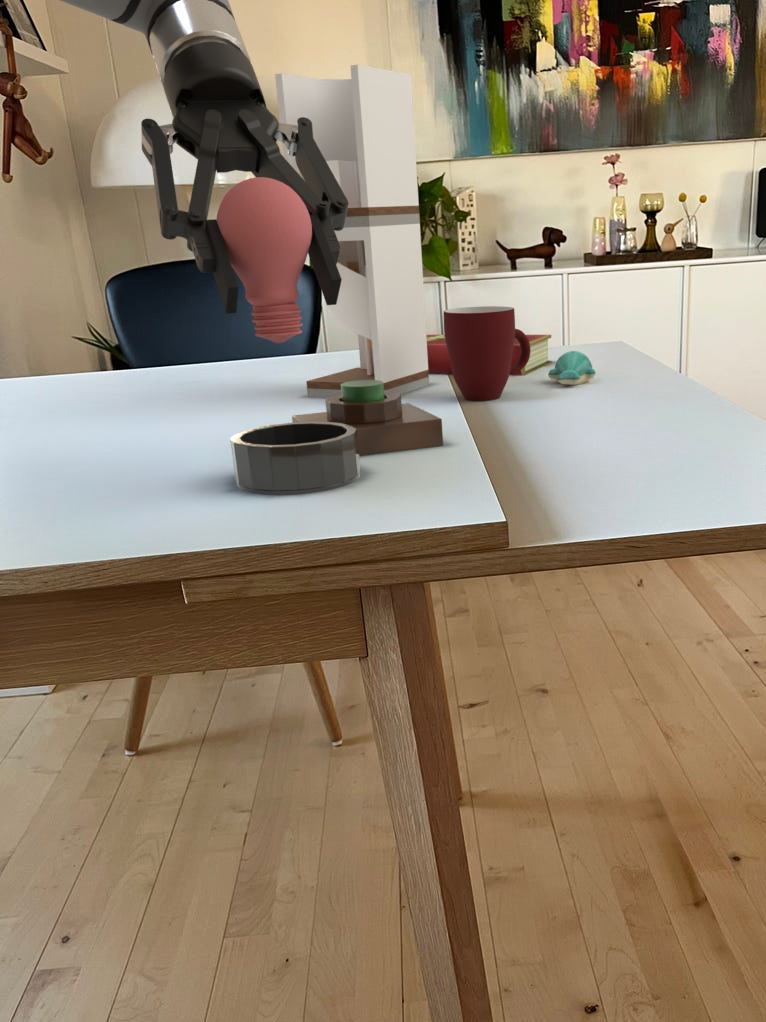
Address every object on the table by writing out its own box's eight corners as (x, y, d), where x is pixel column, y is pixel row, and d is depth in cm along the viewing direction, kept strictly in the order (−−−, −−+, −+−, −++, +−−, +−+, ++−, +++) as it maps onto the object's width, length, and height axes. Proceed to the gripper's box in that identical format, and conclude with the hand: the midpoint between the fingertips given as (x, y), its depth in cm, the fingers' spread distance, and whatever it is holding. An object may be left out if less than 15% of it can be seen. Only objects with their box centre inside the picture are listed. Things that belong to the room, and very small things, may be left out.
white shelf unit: (358, 383, 137) (332, 82, 123) (429, 386, 132) (411, 74, 119) (308, 398, 127) (275, 74, 114) (382, 401, 123) (357, 64, 109)
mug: (504, 388, 128) (501, 303, 124) (547, 395, 122) (546, 306, 118) (434, 400, 122) (429, 311, 118) (476, 408, 116) (472, 314, 112)
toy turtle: (599, 379, 131) (599, 348, 130) (591, 389, 125) (591, 356, 123) (553, 380, 132) (552, 349, 131) (543, 389, 126) (542, 357, 124)
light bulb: (233, 340, 85) (212, 180, 81) (321, 335, 86) (305, 176, 82) (229, 351, 79) (207, 177, 74) (324, 345, 80) (308, 173, 75)
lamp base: (317, 462, 94) (312, 412, 92) (294, 443, 102) (289, 396, 101) (443, 447, 98) (440, 398, 96) (410, 429, 106) (407, 384, 105)
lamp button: (348, 407, 96) (346, 388, 95) (337, 401, 100) (336, 382, 99) (390, 403, 97) (388, 383, 97) (378, 396, 101) (376, 378, 100)
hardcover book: (524, 376, 136) (523, 343, 134) (379, 374, 143) (377, 342, 142) (551, 363, 146) (551, 332, 145) (415, 362, 154) (413, 332, 152)
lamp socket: (248, 503, 82) (242, 452, 80) (228, 476, 90) (222, 430, 89) (374, 486, 85) (370, 437, 83) (343, 462, 94) (338, 417, 92)
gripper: (319, 116, 93) (398, 319, 85) (83, 118, 85) (147, 342, 78) (332, 38, 86) (419, 251, 79) (77, 33, 78) (146, 269, 71)
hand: (284, 296), depth 78 cm, fingers closed on light bulb, 7 cm apart
